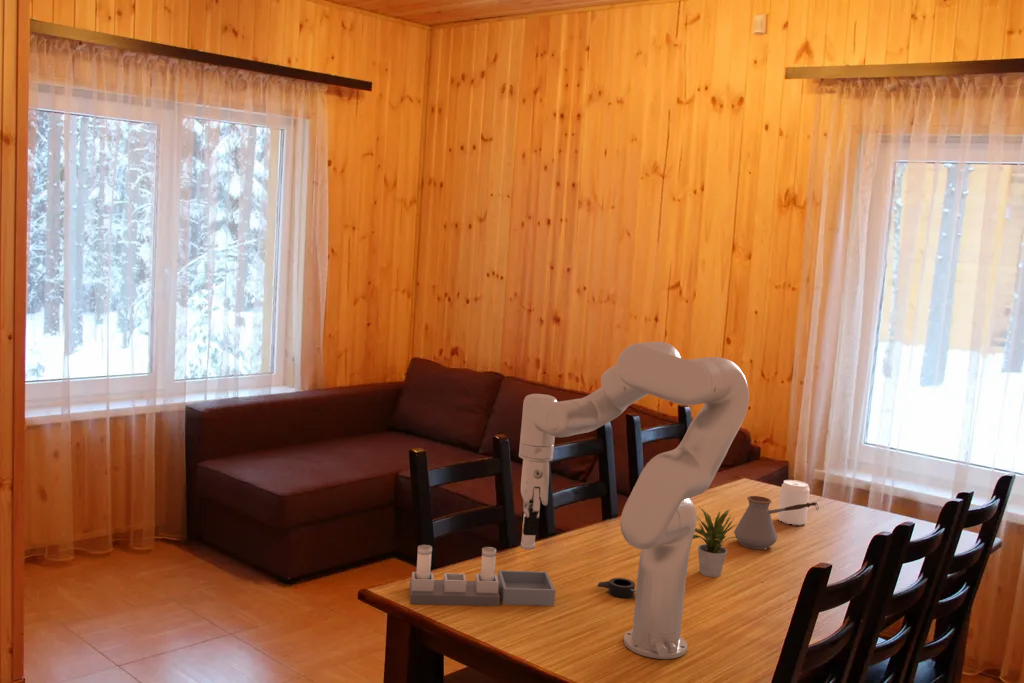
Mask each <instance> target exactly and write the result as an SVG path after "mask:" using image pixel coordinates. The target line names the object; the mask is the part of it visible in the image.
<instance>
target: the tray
mask: <svg viewBox="0 0 1024 683" xmlns="http://www.w3.org/2000/svg"><path fill="white" fill-rule="evenodd" d="M497 578H498V581H499V585H498V592H499V596H500V599H501V603H502V605H510V606H541V607H542V606H547V607H548V606H549V607H550V606H551V607H552V606H553V607H554V606H555V596H556V595H555V594H556V589H555V587H554V584H553V582H552V580H551V578H550V576H549V573H548V571H536V570H535V571H532V570H531V571H529V570H500V569H498V571H497Z"/></svg>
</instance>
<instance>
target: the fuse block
mask: <svg viewBox="0 0 1024 683" xmlns="http://www.w3.org/2000/svg"><path fill="white" fill-rule="evenodd" d="M480 575H481V573H475V578H474V579H475V580H467V577H466V573H461V572H460V573H458V572H456V573H454V572H444V573H443V579H435V576H434V572H431V571H430V579H416V571H412V572H411V578H410V580H409V598H410V599H409V600H410V602H409V603H410V605H413V604H414V605H440V606H441V605H443V606H445V605H446V606H448V605H449V606H453V605H454V606H477V607H478V606H479V607H481V606H485V607H488V606H489V607H500V599H501V596H500V593H499V589H498V585H499V581H498V574H495V573H494V581H480Z"/></svg>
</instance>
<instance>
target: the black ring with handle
mask: <svg viewBox="0 0 1024 683" xmlns="http://www.w3.org/2000/svg"><path fill="white" fill-rule="evenodd" d="M597 587H598V588H599V587H600V588H606V589H608V591H607V592H608V594H609V596H611V597H613V598H617V599H620V600H621V599H622V600H627V599H631V598H634V596H635V593H636V589H635V587H636V582H634V581H633V580H631V579H629V578H625V577H614V578H611V579H609V580H608V581H600V582H598V584H597Z"/></svg>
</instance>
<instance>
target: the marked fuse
mask: <svg viewBox="0 0 1024 683" xmlns="http://www.w3.org/2000/svg"><path fill="white" fill-rule="evenodd" d="M530 508H532V507H530ZM526 509H527V506H525V507H524V517H526ZM523 528H524V518H523V526H522V529H521V541H520V548H521V549H523V550H529V551H531V550H535V546H536V535H524V534H523Z"/></svg>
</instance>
